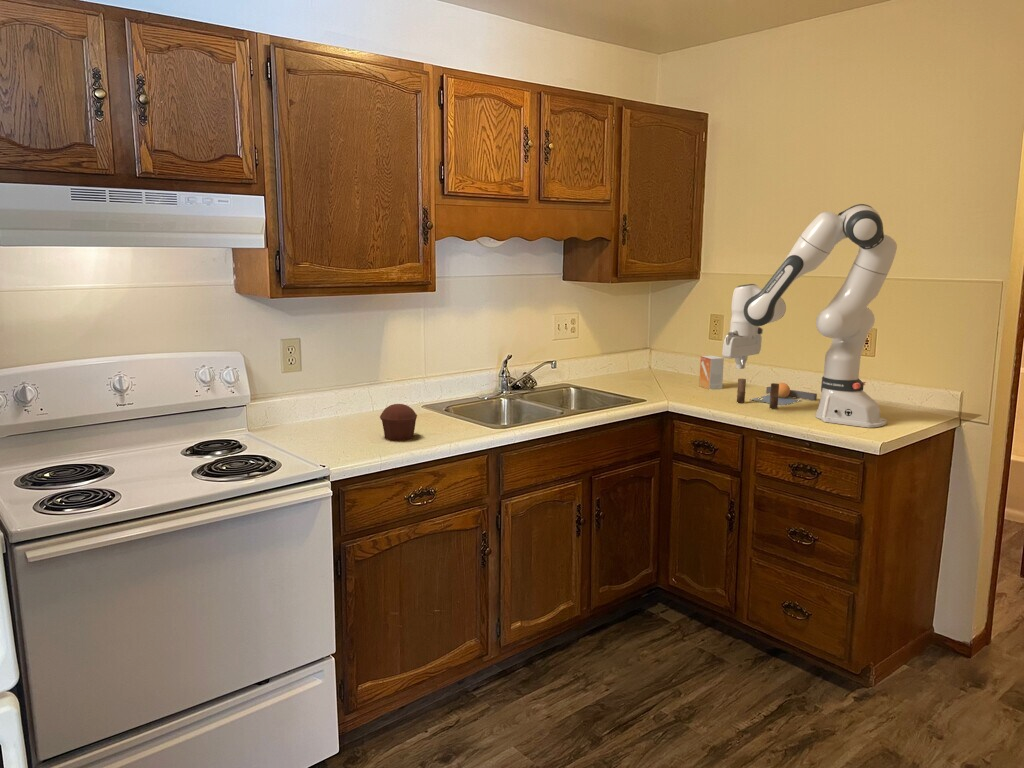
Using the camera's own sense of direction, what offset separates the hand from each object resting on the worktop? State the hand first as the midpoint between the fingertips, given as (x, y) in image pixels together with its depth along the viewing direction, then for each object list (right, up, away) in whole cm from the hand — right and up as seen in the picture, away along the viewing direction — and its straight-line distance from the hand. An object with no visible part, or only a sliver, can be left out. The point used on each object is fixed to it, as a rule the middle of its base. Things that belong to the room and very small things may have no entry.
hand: (740, 368), depth 277 cm
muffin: (-116, -22, -40) cm, 125 cm away
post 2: (+14, -14, +7) cm, 21 cm away
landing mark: (+20, -12, +21) cm, 31 cm away
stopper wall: (+28, -10, +29) cm, 42 cm away
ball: (+24, -8, +25) cm, 36 cm away
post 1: (+5, -13, +16) cm, 21 cm away
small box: (+1, -7, +47) cm, 48 cm away
